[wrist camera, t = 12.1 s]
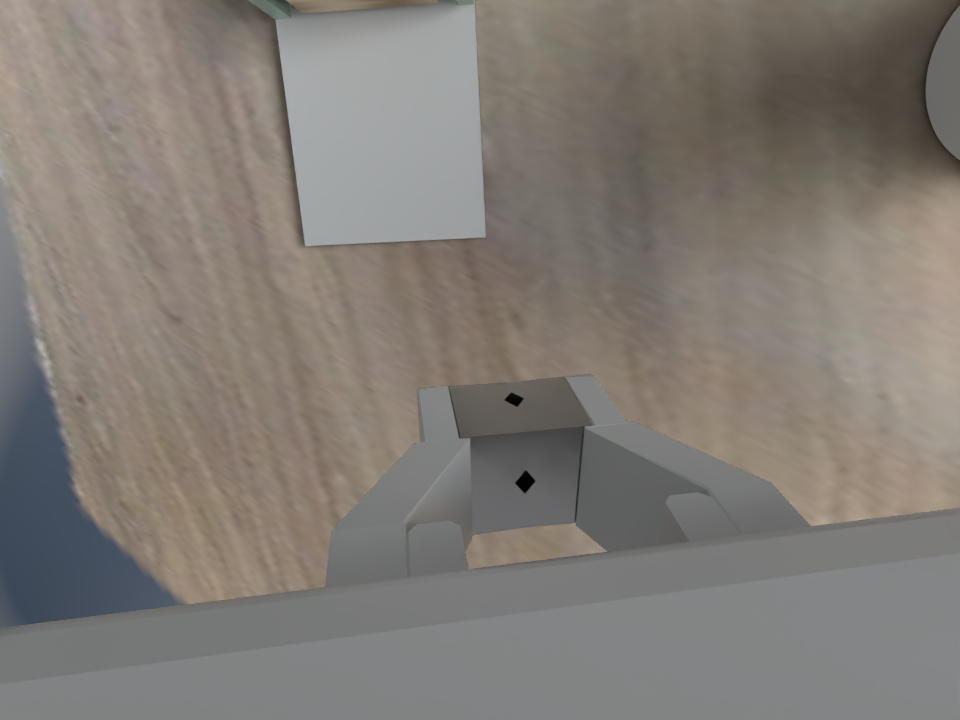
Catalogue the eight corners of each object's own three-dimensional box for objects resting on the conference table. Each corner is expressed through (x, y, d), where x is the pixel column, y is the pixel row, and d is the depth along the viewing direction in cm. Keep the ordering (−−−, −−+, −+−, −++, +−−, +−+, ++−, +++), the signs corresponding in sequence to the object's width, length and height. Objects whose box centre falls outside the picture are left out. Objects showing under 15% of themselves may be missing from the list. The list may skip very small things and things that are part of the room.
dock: (464, -208, 41) (455, -274, 35) (486, 236, 49) (481, 242, 43) (253, -185, 42) (211, -245, 36) (309, 244, 50) (281, 252, 44)
